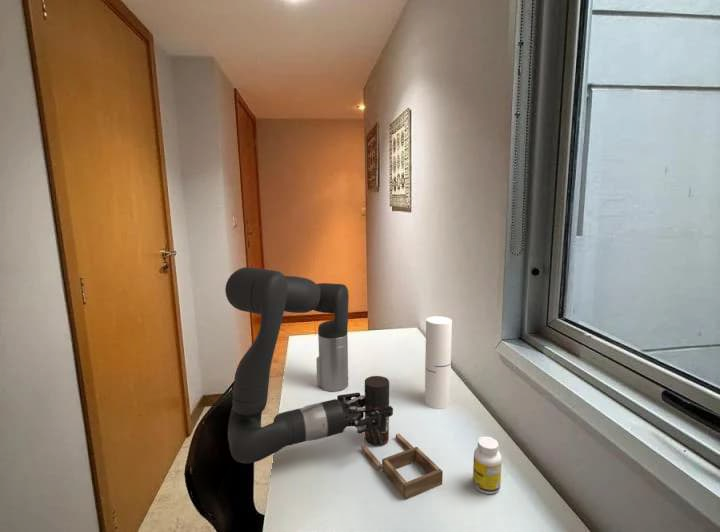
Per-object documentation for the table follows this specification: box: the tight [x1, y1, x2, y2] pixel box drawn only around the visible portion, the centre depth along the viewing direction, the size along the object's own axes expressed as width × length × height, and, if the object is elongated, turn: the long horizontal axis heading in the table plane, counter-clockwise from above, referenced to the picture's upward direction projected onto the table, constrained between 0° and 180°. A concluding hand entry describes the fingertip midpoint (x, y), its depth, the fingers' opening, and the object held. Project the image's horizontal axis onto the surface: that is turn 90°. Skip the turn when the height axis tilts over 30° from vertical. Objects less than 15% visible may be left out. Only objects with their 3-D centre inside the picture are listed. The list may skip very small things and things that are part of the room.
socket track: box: [360, 433, 444, 500], centre depth 85 cm, size 18×11×3 cm, turn 27°
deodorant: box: [364, 375, 390, 447], centre depth 93 cm, size 6×6×15 cm
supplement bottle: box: [472, 436, 503, 495], centre depth 78 cm, size 5×5×10 cm
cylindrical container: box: [424, 315, 453, 410], centre depth 110 cm, size 7×7×25 cm
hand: (385, 404), depth 94 cm, fingers closed on deodorant, 6 cm apart
